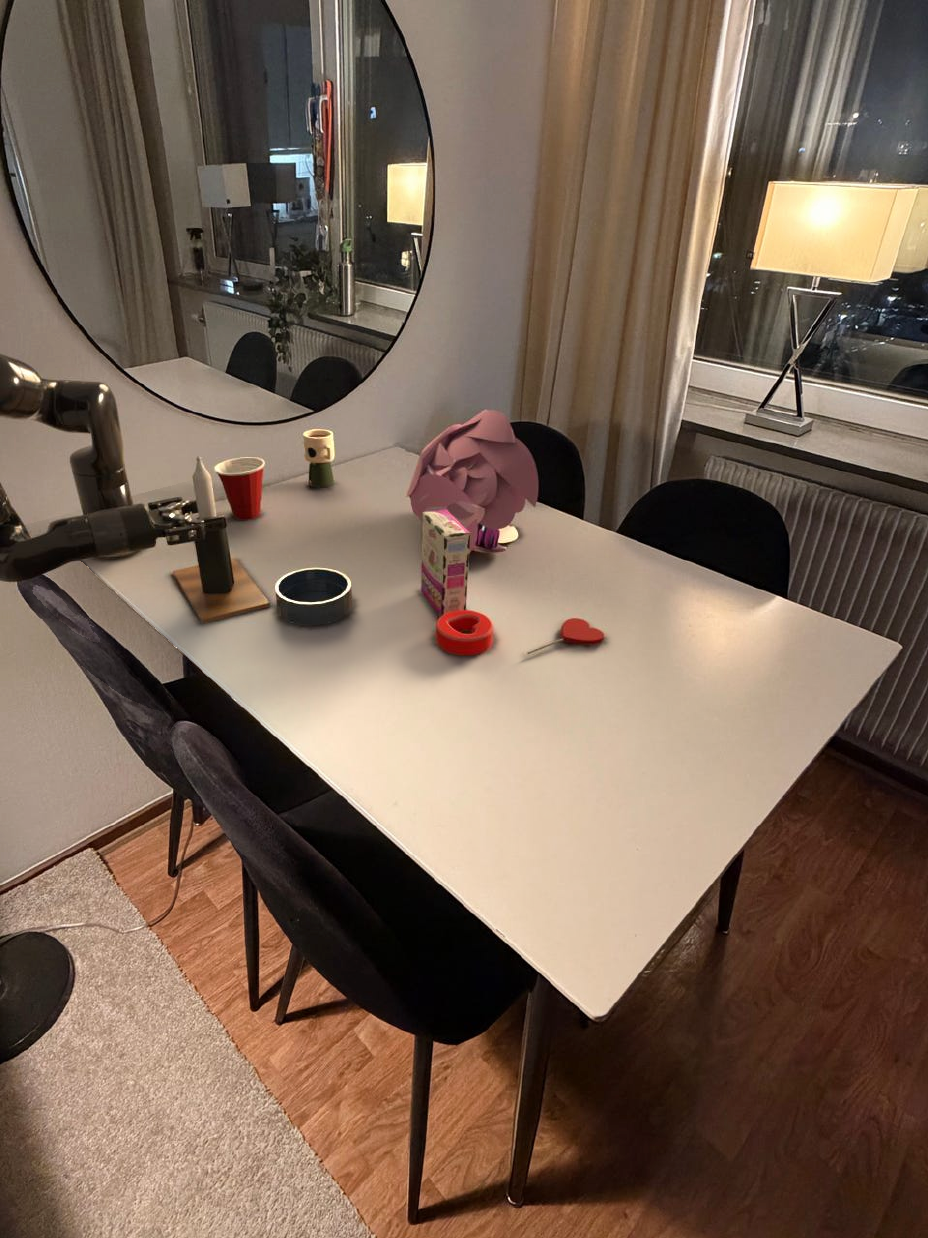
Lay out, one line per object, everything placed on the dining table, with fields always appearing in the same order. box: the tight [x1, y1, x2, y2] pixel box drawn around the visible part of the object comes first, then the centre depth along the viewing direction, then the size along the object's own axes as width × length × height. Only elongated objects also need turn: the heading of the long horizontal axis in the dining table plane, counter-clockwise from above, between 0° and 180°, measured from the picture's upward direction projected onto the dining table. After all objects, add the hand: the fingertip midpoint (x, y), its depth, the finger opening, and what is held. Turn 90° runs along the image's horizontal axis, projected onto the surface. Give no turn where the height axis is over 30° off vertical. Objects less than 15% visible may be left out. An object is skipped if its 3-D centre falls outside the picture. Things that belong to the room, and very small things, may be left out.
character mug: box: [302, 428, 335, 488], centre depth 179 cm, size 11×7×13 cm, turn 38°
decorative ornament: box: [435, 609, 494, 656], centre depth 125 cm, size 10×10×3 cm
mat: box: [172, 557, 271, 624], centre depth 136 cm, size 20×12×1 cm, turn 32°
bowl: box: [274, 567, 353, 627], centre depth 131 cm, size 13×13×4 cm
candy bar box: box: [420, 510, 470, 618], centre depth 131 cm, size 11×5×16 cm, turn 23°
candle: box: [192, 455, 234, 594], centre depth 129 cm, size 5×5×25 cm
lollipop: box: [526, 617, 605, 655], centre depth 125 cm, size 8×1×15 cm
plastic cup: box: [213, 456, 266, 521], centre depth 162 cm, size 11×11×12 cm
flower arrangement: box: [405, 409, 539, 554], centre depth 155 cm, size 35×24×28 cm
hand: (218, 512), depth 129 cm, fingers open, 8 cm apart
